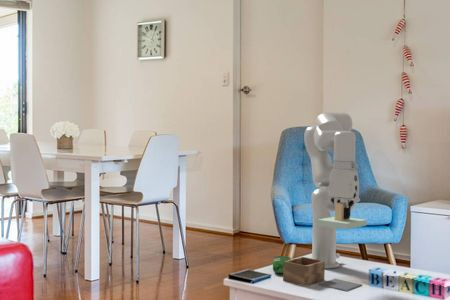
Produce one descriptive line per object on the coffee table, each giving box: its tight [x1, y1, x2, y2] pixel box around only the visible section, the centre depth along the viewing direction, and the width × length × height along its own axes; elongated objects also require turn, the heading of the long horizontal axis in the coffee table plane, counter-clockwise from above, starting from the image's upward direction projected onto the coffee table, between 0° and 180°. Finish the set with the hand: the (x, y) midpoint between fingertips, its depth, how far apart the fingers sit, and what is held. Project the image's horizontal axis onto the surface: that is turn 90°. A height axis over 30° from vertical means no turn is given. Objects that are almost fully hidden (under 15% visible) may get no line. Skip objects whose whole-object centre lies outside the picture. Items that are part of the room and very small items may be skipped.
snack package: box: [272, 255, 292, 274], centre depth 223 cm, size 7×16×5 cm, turn 173°
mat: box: [318, 278, 363, 292], centre depth 204 cm, size 11×11×1 cm
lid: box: [317, 202, 368, 230], centre depth 203 cm, size 14×12×8 cm
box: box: [282, 256, 326, 287], centre depth 210 cm, size 12×10×7 cm
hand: (342, 217), depth 203 cm, fingers closed on lid, 2 cm apart
